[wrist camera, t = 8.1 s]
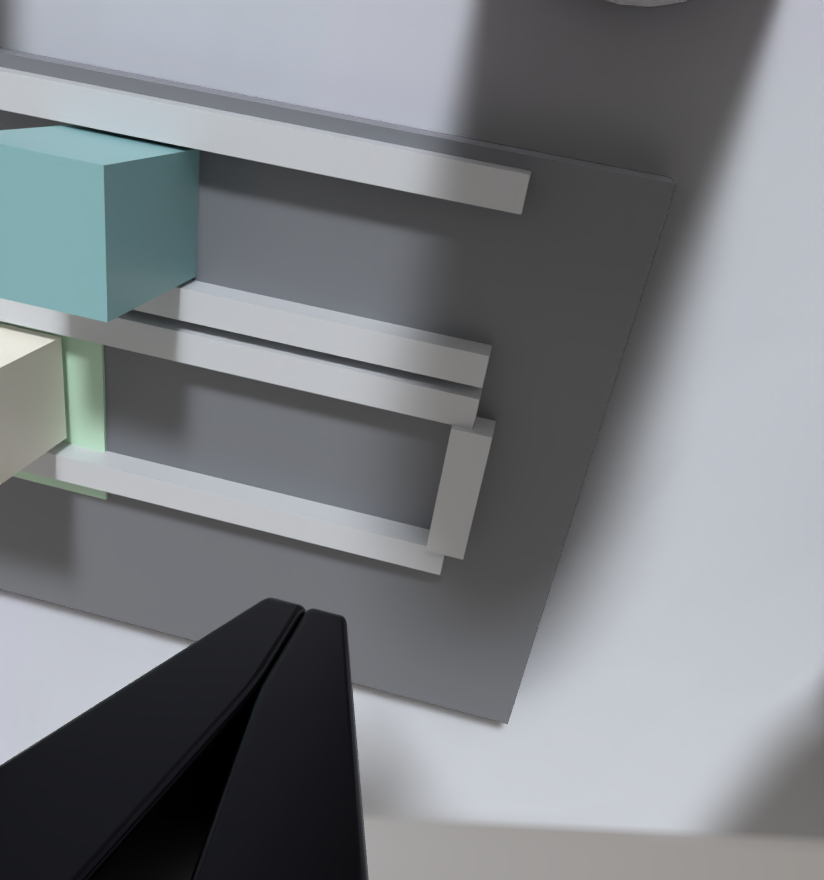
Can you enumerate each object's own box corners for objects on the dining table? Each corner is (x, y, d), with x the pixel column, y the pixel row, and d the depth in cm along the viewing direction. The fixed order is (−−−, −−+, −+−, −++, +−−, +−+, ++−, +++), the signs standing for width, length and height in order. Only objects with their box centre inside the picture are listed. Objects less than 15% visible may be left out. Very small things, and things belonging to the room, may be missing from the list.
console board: (668, 177, 17) (709, 213, 12) (510, 695, 24) (497, 841, 19) (-140, 20, 18) (-376, -1, 14) (-60, 546, 26) (-196, 647, 21)
